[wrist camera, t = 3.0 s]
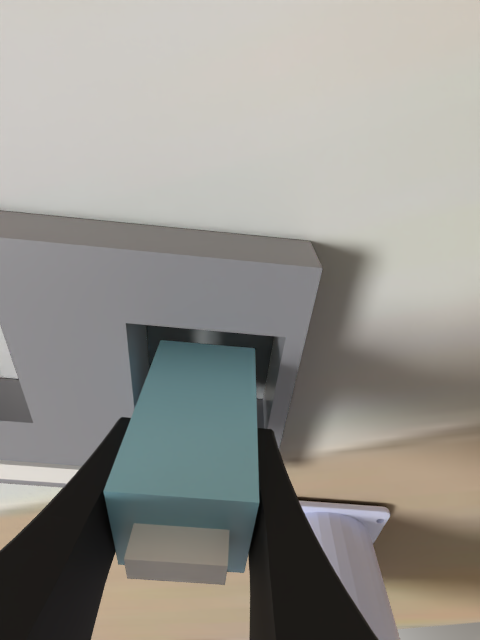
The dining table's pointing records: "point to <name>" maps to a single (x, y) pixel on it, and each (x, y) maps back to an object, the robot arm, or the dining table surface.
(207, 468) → the plug
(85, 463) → the robot arm
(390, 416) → the dining table surface
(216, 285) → the panel
